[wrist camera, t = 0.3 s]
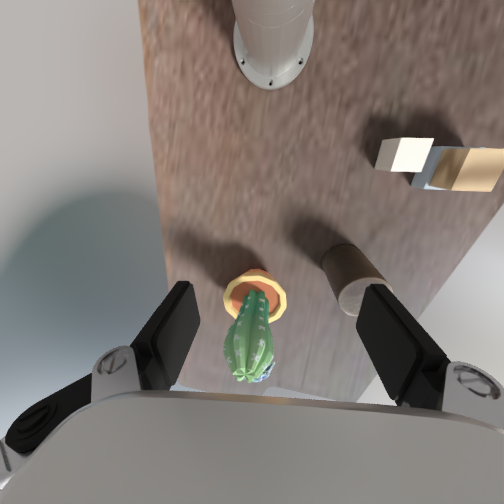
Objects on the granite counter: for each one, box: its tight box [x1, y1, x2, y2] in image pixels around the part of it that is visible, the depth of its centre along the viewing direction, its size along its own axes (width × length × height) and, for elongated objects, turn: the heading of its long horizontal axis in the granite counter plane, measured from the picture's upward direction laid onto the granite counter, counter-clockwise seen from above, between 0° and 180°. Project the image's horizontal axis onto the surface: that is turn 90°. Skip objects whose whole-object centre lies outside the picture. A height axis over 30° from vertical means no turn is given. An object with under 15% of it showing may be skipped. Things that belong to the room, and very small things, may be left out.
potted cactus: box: [223, 269, 287, 383], centre depth 43 cm, size 15×15×25 cm
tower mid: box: [429, 148, 504, 192], centre depth 32 cm, size 6×6×5 cm
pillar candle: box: [322, 244, 393, 316], centre depth 42 cm, size 10×10×15 cm
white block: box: [374, 138, 434, 172], centre depth 35 cm, size 5×5×6 cm
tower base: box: [411, 146, 485, 190], centre depth 36 cm, size 7×7×4 cm
